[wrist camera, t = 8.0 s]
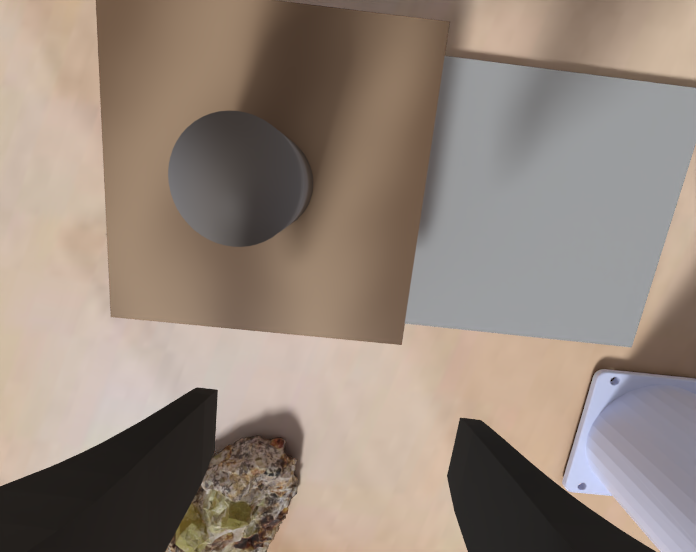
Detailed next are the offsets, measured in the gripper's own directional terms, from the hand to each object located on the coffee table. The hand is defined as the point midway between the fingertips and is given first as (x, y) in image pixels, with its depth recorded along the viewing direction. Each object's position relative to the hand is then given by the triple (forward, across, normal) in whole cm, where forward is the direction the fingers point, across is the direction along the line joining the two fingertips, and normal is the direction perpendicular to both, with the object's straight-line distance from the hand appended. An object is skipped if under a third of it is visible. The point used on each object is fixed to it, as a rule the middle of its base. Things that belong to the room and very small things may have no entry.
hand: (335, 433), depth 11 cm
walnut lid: (+6, +4, -7) cm, 10 cm away
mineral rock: (+10, +5, +12) cm, 17 cm away
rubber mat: (+10, -9, -7) cm, 15 cm away
